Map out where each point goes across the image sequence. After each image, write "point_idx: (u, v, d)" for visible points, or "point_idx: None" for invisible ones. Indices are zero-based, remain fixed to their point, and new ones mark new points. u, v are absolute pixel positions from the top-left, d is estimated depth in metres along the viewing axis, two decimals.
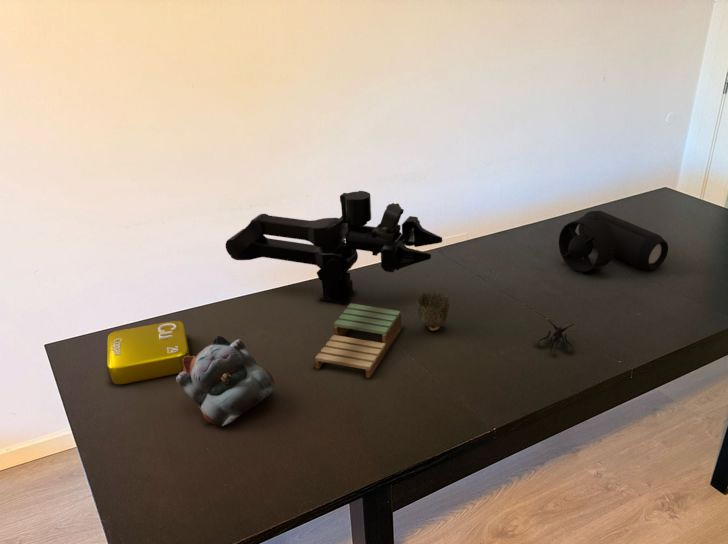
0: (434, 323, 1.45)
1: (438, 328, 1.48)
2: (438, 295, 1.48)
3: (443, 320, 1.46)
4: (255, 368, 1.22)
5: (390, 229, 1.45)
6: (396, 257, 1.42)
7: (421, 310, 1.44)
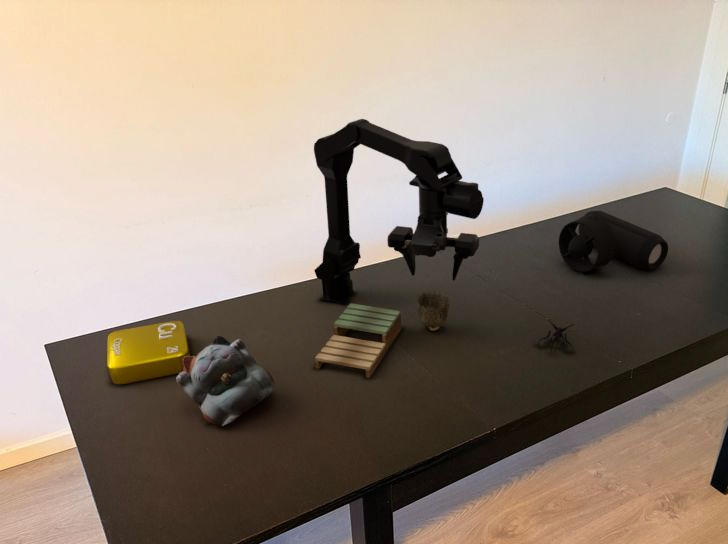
0: (434, 323, 1.45)
1: (438, 328, 1.48)
2: (438, 295, 1.48)
3: (443, 320, 1.46)
4: (255, 368, 1.22)
5: None
6: None
7: (421, 310, 1.44)
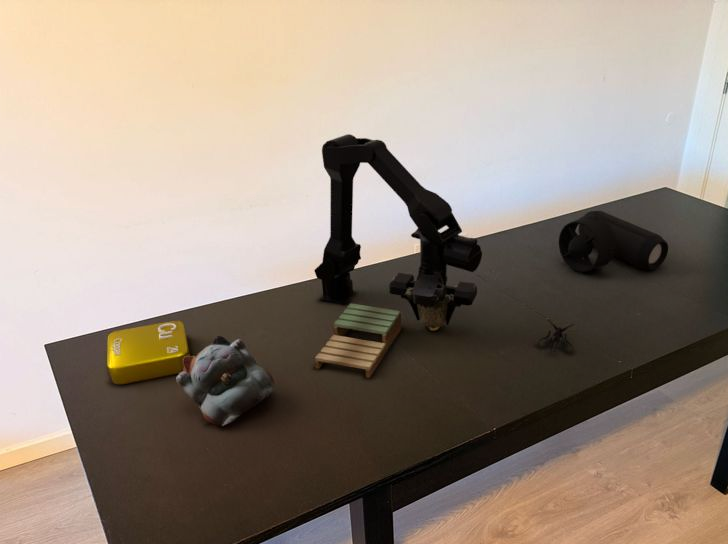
0: (434, 323, 1.45)
1: (438, 328, 1.48)
2: None
3: (443, 320, 1.46)
4: (255, 368, 1.22)
5: None
6: None
7: (421, 310, 1.44)
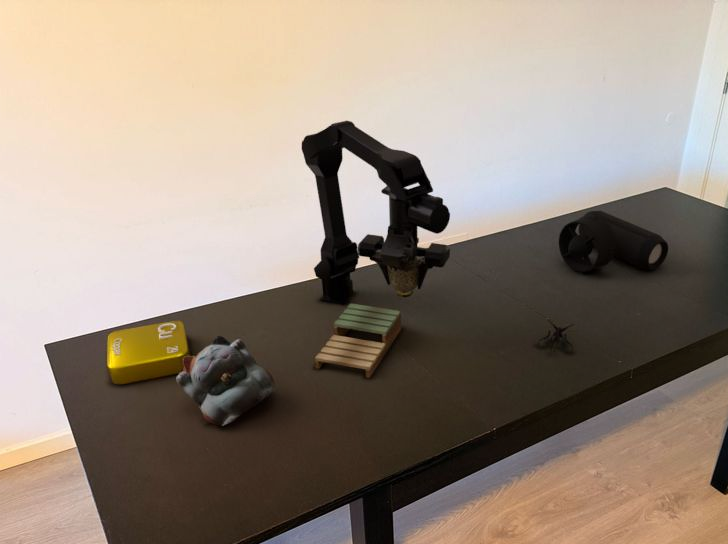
0: (404, 287, 1.38)
1: (409, 293, 1.41)
2: None
3: (414, 284, 1.39)
4: (255, 368, 1.22)
5: None
6: None
7: (391, 273, 1.37)
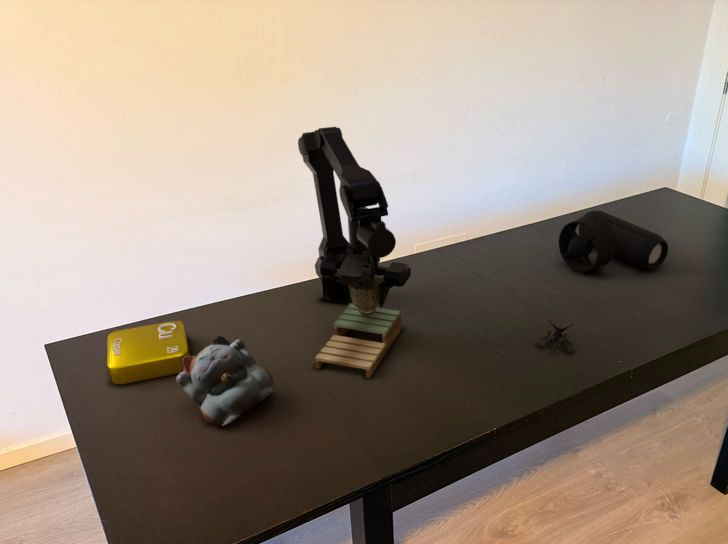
0: (366, 306, 1.39)
1: (372, 311, 1.41)
2: None
3: (376, 302, 1.39)
4: (255, 368, 1.22)
5: None
6: None
7: (352, 292, 1.38)
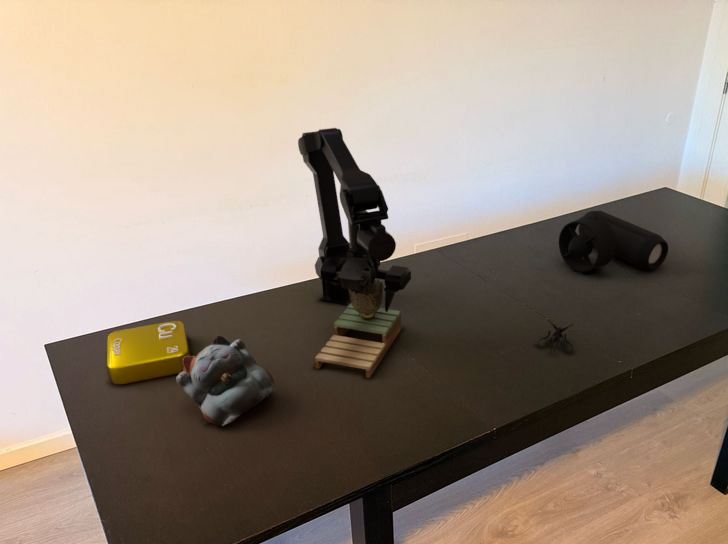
0: (366, 310, 1.39)
1: (372, 315, 1.42)
2: None
3: (376, 307, 1.40)
4: (255, 368, 1.22)
5: None
6: None
7: (352, 296, 1.38)
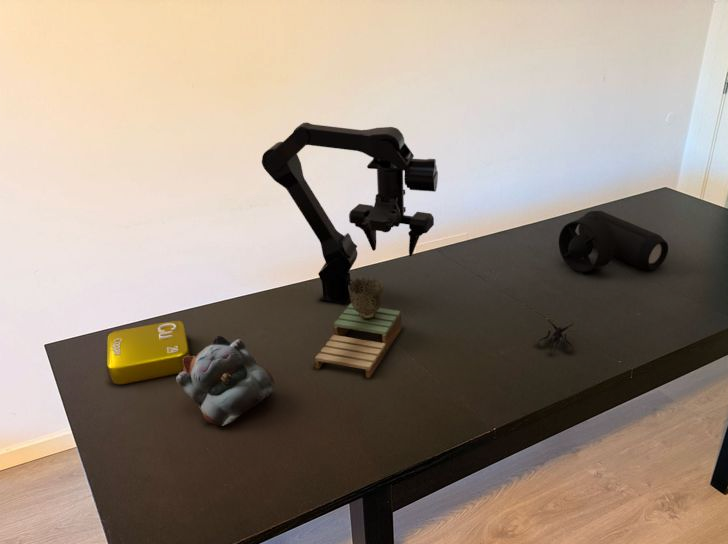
0: (366, 310, 1.39)
1: (372, 315, 1.42)
2: (372, 281, 1.43)
3: (376, 307, 1.40)
4: (255, 368, 1.22)
5: None
6: None
7: (352, 296, 1.38)
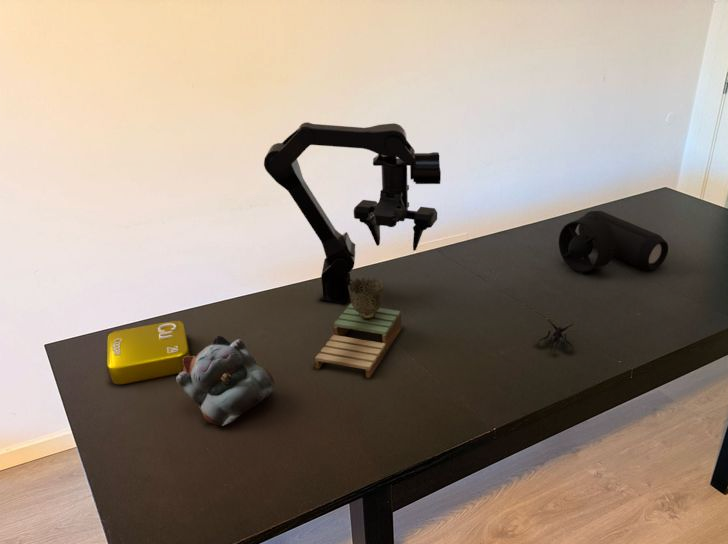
0: (366, 310, 1.39)
1: (372, 315, 1.42)
2: (372, 281, 1.43)
3: (376, 307, 1.40)
4: (255, 368, 1.22)
5: None
6: None
7: (352, 296, 1.38)
